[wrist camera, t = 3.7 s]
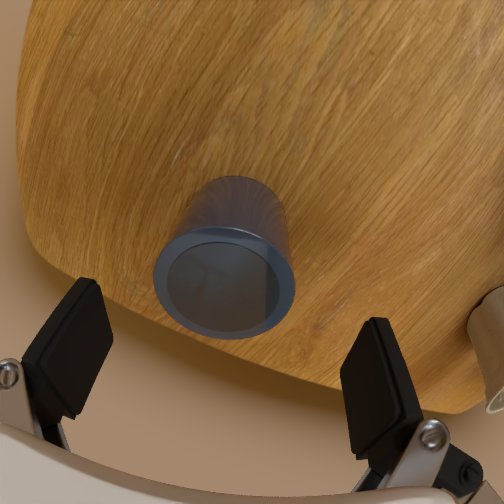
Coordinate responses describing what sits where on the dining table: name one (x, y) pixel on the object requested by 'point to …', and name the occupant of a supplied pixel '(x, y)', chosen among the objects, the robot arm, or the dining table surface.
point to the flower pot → (490, 346)
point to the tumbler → (228, 262)
